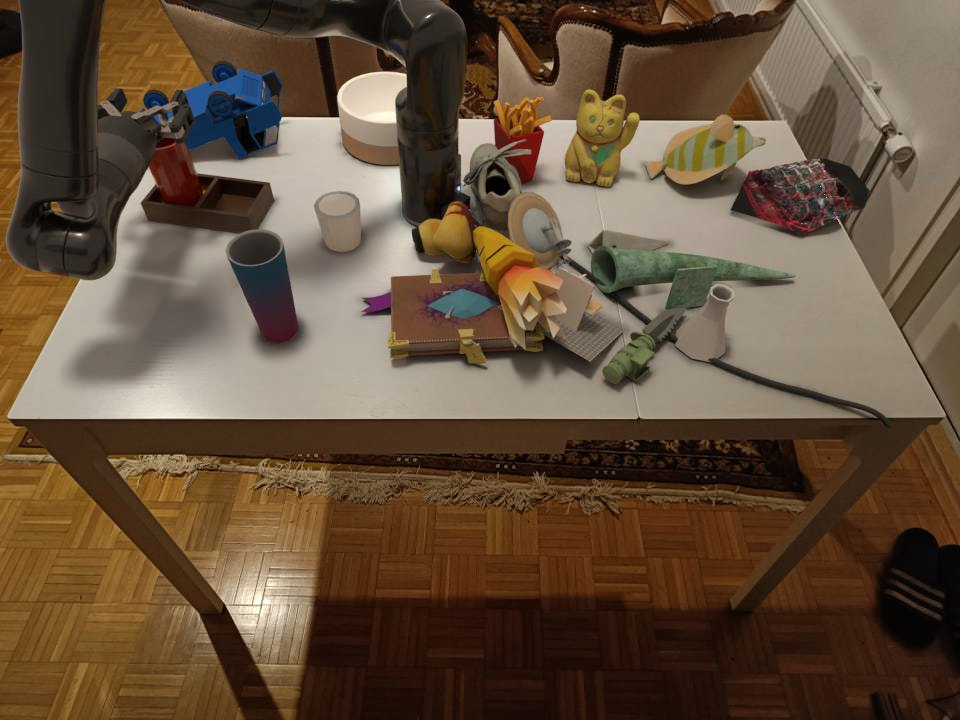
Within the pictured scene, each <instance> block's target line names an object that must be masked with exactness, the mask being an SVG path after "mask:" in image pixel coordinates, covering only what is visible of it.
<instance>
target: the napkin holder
mask: <svg viewBox="0 0 960 720" xmlns="http://www.w3.org/2000/svg"><path fill="white" fill-rule="evenodd" d="M555 275H556V276H558V277H559V278H560V279H562V280H563V282H562V285H561V287H560V289H559V290H557V291H556V293H557V294H558V296H559V298H560V299H561V301H562V302H563V304H564V305H565V307H566V308H567V310H566V313H563V314H558V315H555V316H556V318H557V320H558V322H559V325H560V327H561V329H562V331H563V333H564V335H565V337H566V339H567V340H566V339H564V338H561V337H559V336H556V335H555V337H554V338H553V337H552V334H551V333H549V332H547V331H546V330H545V329H544V328H543V326H542V325H541V324H540V323H539V322H538V325H539V324H540V326H541V328H542V330H543V332H544V337H545V336H546V337H547V338H549V339H551V340H552V341H554V342H555V343H557V344H559V345H561V346H563V347H564V348H566V349H567V350H569V351H571V352H573V353H574V354H576V355H578V356H580V357H581V358H583V359H584V360H587V362H591V361H593V360H594V359H595V358H596V357H597V356H598V355H600V353H602V352H603V351H604V350H605V349H606V348H607V347H608V346H609V345H610V344H611V343H613V341H614V340H616V339H617V338H618V337H619V336H620V335H622V333H624V331H625V329H624V328H622V327H619V326H618V325H616V324H615V323H612V322H611V321H609V320H607V319H605V318H603V317H602V316H600V315H598V314H596V313H597V312H599V311H600V310H601V309H602V308H603V307H604V304H602V303H600V302H599V301H597V300H595V299H593V298H592V297H593V291H594V288H595V286H596V284H594V283H593V284H592V283H591V282H589V281H588V280H585V279H584V277H587V276H586V275H587V274H584V273H583V274H581V275H576V274H574V273H572V272H571V273H570V270H569V271H568V270H566V269H565V268H563V267H562V266H559V267H558V268H557V272H556V274H555ZM498 308H499V309H501V310H503V308H502V305H500V306H498ZM584 311H585V314H586V316H585V314H584ZM586 317H587V318H586Z"/></svg>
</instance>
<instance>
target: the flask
mask: <svg viewBox="0 0 960 720" xmlns="http://www.w3.org/2000/svg"><path fill="white" fill-rule="evenodd" d="M734 299H735V290H734V289H733V288H731V287H729V286H728V285H725V284H721V283H716V284H714V285H711V287H710V290H709V295H708V297H707V299H706V302H705V304H704V306H701V308H700V309H699V310H697V312H696V313H694V315H693V316H692V317H691V318H689V319H688V320H687V321H686V322H685V323H683V325H681V326H680V327H679V328H677V330H676V331H675V336H676V337H678V341H677V342H674V343H675V344H674V346H675V347H676V348H677V349H678V350H680V351H681V352H682V353H683V354H685V355H686V356H688V357H689V358H690V359H692V360H696V361H697V360H698V361H701V362H708V363H711V362H710V361H709V360H708V359H709V358H716V359H718V360H719V358H720V357H722V356H723V355H724V354H725V353H726V316H727V312H728V311H727V310H728V307H729V304H730V303H731V302H732V301H733V300H734Z"/></svg>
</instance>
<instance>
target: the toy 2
mask: <svg viewBox="0 0 960 720" xmlns="http://www.w3.org/2000/svg"><path fill="white" fill-rule="evenodd" d="M508 229H509V235H510V239H511V241H512V242H513V243H515V244H516V245H518V246H520V247H522V248H524V249H525V250H527V251H529V252H531V253H533V254H534V255H535V256H536V259H537V262H538V264H539V268H542V269H546V270H550V269H551V268H553V267H555V266H556V264H557V263H558V262H559V260H560V258H561V257H560V256H563V257H564V259H563V260H562V262H561V265H566V266H567V267H568V270H569V272H570V273H572V271H571V267H570V263H569V262H571V261H572V260H573V259H572V258H571V257H570V258H571V259H570V258H568V257H569V256H568V254H570V253H571V252H572V249H571V248H569V247H570V246H571V245H572V243H573V241H572V240H570V239H568V238H567V239H566V238H565V239H563V231H562V226H561V223H560V221H559V217H558V215H557V213H556V211H555V210H554V208H553V206H552V205H551V204H550V202H549V201H548V200H546V199H545V198H544V197H543V196H542V195H540V194H538V193H536V192H533V191H523V192H521V194H519V195H517V196H516V198H515V199H514V200H513V201H512V203H511V206H510V209H509V212H508ZM559 250H560V251H559ZM558 251H559V252H558ZM567 256H568V257H567ZM584 314H585V311H584ZM585 316H586V314H585ZM586 318H587V317H586Z"/></svg>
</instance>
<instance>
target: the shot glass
mask: <svg viewBox="0 0 960 720" xmlns="http://www.w3.org/2000/svg"><path fill="white" fill-rule="evenodd" d="M313 208H314V212H315V215H316V218H317V222H318V224H319V228H320V231H321V234H322V237H323V240H324V243H325V247H327V249H329V250H331V251H334V252H339V253H344V252H350V251H352V250H354V249H356V248H357V247H358V246H359V245H360V244H361V242H362V225H361V224H362V222H361V219H362V218H361V202H360V198H358V196H357V195H356V194H354V193H352V192H349V191H344V190H336V191H335V190H333V191H329V192H326V193H324V194H321V195H320V196H319V197H318V198H317V199H315V202H314V203H313Z"/></svg>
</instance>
